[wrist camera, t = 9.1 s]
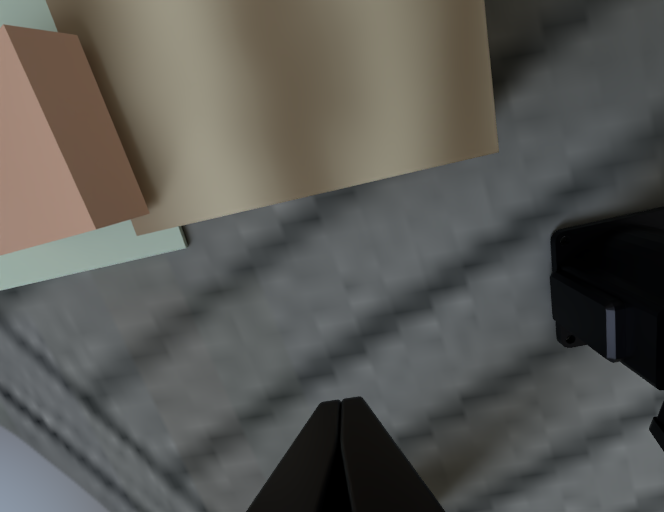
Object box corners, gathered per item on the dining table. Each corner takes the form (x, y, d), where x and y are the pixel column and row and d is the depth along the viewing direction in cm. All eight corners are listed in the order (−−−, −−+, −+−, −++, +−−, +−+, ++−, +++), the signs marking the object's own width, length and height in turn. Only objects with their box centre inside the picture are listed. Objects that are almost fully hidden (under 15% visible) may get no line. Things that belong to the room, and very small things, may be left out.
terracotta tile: (77, 35, 12) (3, 24, 10) (150, 213, 13) (96, 229, 12) (-24, 118, 16) (-86, 120, 15) (39, 243, 18) (-11, 258, 16)
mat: (92, -27, 15) (87, -31, 15) (188, 246, 18) (186, 248, 18) (-209, 56, 16) (-219, 54, 16) (-66, 304, 19) (-72, 306, 19)
